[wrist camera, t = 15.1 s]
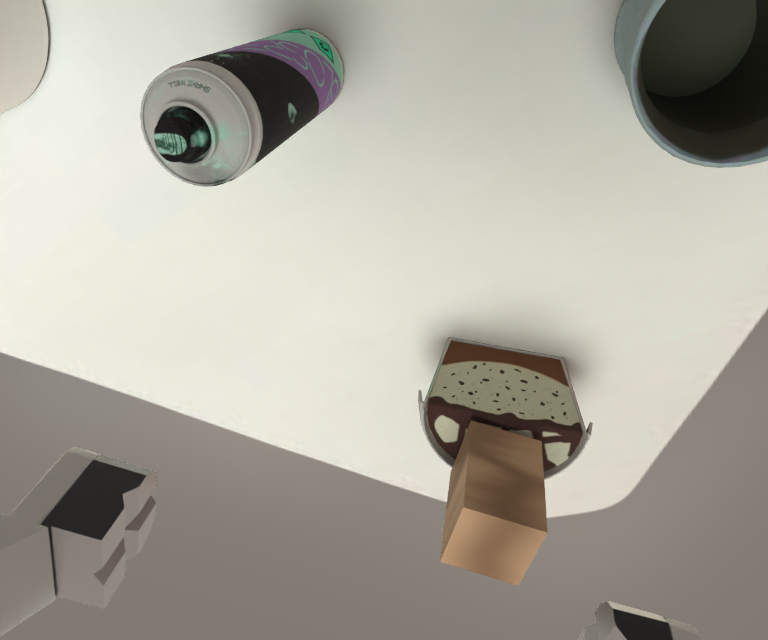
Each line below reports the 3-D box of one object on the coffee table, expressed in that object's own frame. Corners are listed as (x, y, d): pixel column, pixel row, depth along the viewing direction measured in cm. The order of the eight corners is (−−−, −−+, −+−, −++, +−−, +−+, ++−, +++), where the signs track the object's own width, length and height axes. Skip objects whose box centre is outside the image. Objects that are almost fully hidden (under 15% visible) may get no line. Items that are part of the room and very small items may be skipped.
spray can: (359, 85, 43) (259, 166, 26) (298, 127, 45) (167, 227, 28) (314, 10, 41) (173, 44, 24) (252, 57, 43) (82, 119, 26)
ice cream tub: (421, 392, 55) (404, 472, 46) (430, 333, 52) (415, 407, 43) (562, 419, 53) (572, 506, 45) (581, 360, 50) (595, 441, 42)
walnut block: (450, 471, 45) (440, 561, 38) (471, 420, 43) (463, 507, 36) (517, 491, 45) (518, 585, 38) (541, 441, 43) (547, 532, 36)
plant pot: (794, -80, 34) (914, -99, 24) (766, 108, 39) (856, 160, 29) (601, -51, 37) (636, -56, 26) (596, 125, 41) (625, 178, 31)
